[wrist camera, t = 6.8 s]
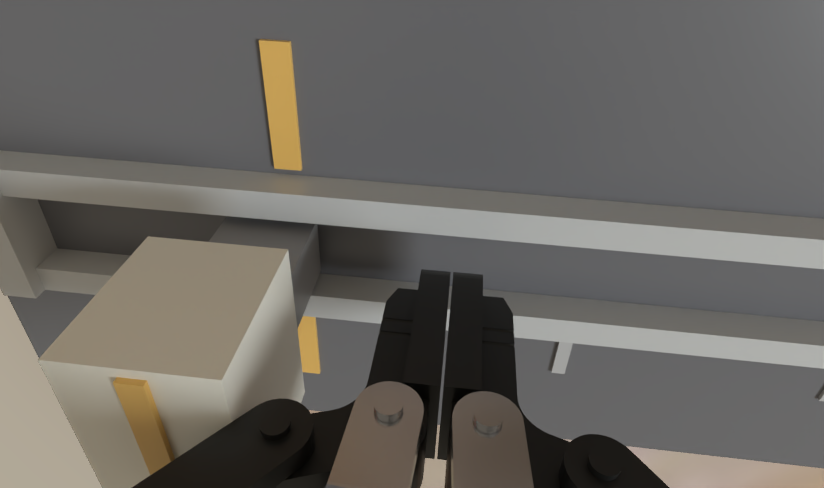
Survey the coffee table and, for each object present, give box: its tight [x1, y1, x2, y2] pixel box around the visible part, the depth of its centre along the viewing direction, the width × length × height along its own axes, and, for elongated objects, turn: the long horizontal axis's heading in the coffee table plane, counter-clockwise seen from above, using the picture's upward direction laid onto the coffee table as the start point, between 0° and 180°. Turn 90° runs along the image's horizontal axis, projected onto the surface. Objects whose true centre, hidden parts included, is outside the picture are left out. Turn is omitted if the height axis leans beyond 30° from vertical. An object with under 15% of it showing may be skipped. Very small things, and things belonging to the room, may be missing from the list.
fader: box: [38, 216, 321, 488], centre depth 13 cm, size 4×3×7 cm
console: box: [0, 0, 824, 468], centre depth 15 cm, size 15×32×3 cm, turn 88°
